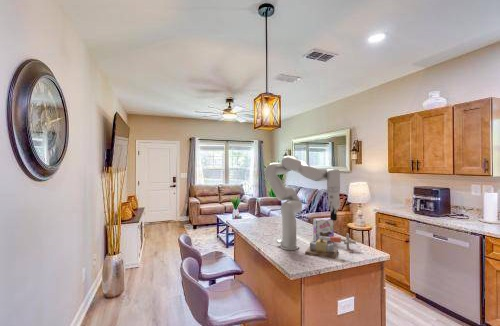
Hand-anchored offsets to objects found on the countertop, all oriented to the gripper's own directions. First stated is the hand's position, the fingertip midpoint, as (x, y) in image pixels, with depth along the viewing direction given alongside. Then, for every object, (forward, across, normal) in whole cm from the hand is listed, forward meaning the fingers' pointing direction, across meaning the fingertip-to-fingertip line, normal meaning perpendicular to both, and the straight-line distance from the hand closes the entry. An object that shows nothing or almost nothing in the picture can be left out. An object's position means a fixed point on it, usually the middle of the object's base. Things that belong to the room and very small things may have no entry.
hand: (333, 220), depth 153 cm
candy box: (+23, +32, +15) cm, 42 cm away
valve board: (+23, +5, +9) cm, 25 cm away
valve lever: (+15, +6, +4) cm, 16 cm away
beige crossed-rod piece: (+23, +22, -4) cm, 32 cm away
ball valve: (+22, +5, +9) cm, 24 cm away
